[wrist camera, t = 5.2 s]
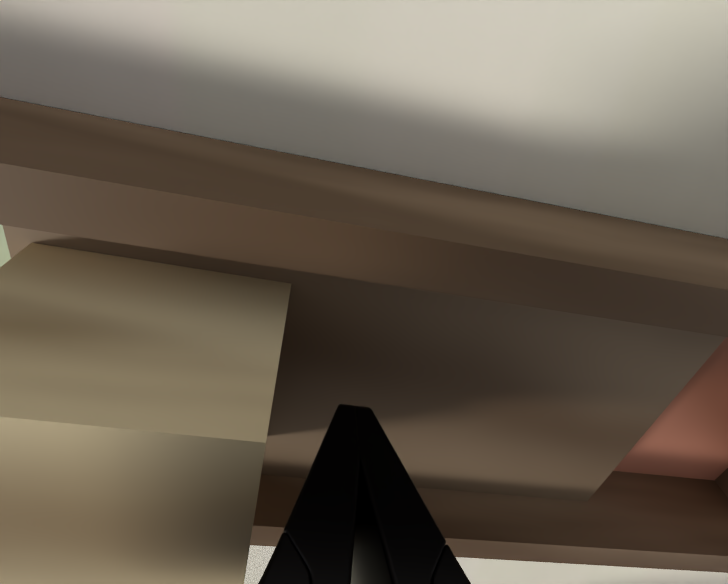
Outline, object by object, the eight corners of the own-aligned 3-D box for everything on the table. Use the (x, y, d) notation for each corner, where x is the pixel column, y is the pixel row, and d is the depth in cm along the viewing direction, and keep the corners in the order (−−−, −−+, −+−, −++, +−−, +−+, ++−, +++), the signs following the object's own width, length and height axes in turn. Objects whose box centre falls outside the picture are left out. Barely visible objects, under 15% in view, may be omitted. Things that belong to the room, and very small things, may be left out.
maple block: (267, 436, 12) (239, 604, 9) (67, 416, 11) (-47, 593, 8) (291, 283, 9) (265, 442, 6) (31, 242, 8) (-168, 399, 5)
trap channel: (716, 492, 17) (780, 575, 15) (-473, 385, 12) (-693, 490, 9) (948, 282, 12) (1108, 356, 9) (-1035, -105, 6) (-1931, -174, 4)
